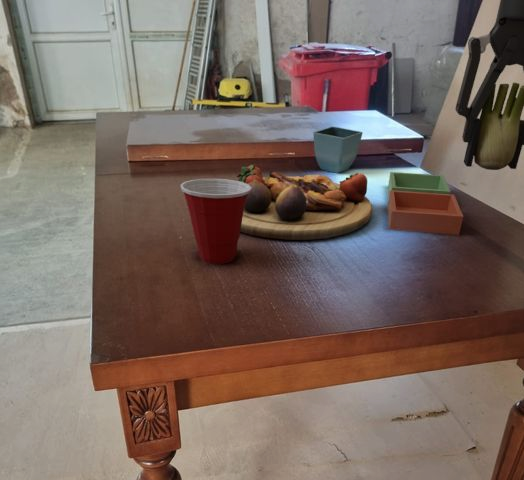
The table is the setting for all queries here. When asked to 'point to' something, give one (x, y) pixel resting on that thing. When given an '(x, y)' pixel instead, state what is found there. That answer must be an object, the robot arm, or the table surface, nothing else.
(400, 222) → the terracotta bin
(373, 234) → the table surface
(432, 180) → the green bin
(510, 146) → the fennel bulb
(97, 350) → the table surface
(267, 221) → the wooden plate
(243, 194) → the plastic cup
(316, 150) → the flower pot
